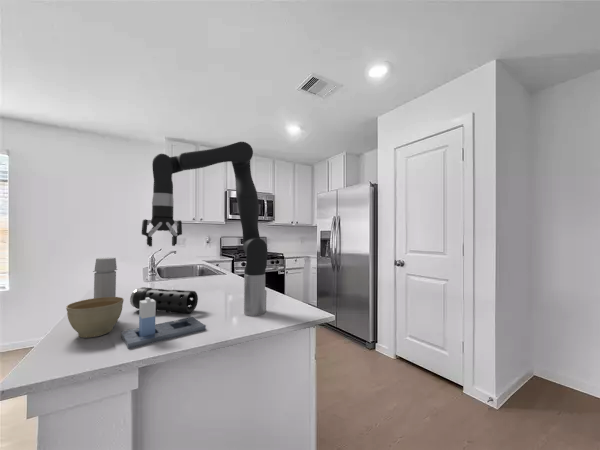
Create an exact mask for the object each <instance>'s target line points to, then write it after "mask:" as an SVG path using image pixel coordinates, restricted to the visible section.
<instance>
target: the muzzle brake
mask: <svg viewBox="0 0 600 450" xmlns="http://www.w3.org/2000/svg"><path fill="white" fill-rule="evenodd" d="M147 297H149V298H150V299H153V300H155V301H156V311H160V312H161V311H163V312H165V313H169V312H170V313H173V314H192V313H193V312H194V311H195V309H196V308H197V305H198V301H199V296H198V293H197V292H196V291H195V290H180V289H167V288H165V289H164V288H153V287H140V288H136V289H134V291H133V292H132V293H131V294H130V298H129V302H130V305H131V306H132V307H133V308H135V309H137V310H139V308H140V301H142V300H145V298H147Z"/></svg>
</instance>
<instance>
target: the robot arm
mask: <svg viewBox="0 0 600 450" xmlns="http://www.w3.org/2000/svg"><path fill="white" fill-rule="evenodd" d="M253 154H254V150H253V148H252V146H251V145H250V144H249V143H248V142H246V141H238V142H234V143H231V144H228V145H224V146H219V147H216V148H209V149H203V150H194V151H186V152H181V153H179V154H178V155H175V156H169V155H167V154H165V153H158V154H156V155H155V156H154V158H153V159H152V166H151V168H152V176H153V184H152V185H153V193H152V200H151V208H152V209H151V220H150V219H143V220H142V224H141V235H142V236H146V244H147V246H148V247H153V235H154V234H155V233H156V232H157V231H159V232H162V231H164V232H165V231H167V232H169V233H170V234H171V235H172V236H171V246H173V247H175V246H176V245H178V236H182V235H183V223H182V220H180V219H179V220H174V183H173V180H172V177H173V174H177V173H179V172H184V171H190V170H191V171H192V170H196V169H203V168H207V167H210V166H213V165H216V164H221V163H227V162H228V163H229V162H230V163H231V164H232V165H231V166H232V168H233V173H234V178H235V181H234V182H235V193H236V203H237V209H238V214H239V215H238V216H239V219H240V224H241V228H242V229H241V231H242V248H243V252H244V254H245V258H246V261H245V267H244V272H243V273H244V278H243V279H244V280H243V282H244V284H243V287H244V289H243V290H244V291H243V314H244V315H246V316H252V317H253V316H254V317H255V316H261V315H264V314H265V313H266V312H267V291H268V290H267V289H266V270H267V266H268V245H267V243H266V241H264V239H262V238H261V236H260V232H259V217H260V216H259V215H260V205H259V197H258V193H257V192H258V191H257V189H256V185H255V183H254V181H253V178H252V171H251V160H252V158H253ZM150 224H151V226H152V228H150V229H149V231H147V230H148V226H150ZM174 224H175V226H176V230H175V229H174V227H173V226H174Z"/></svg>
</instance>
